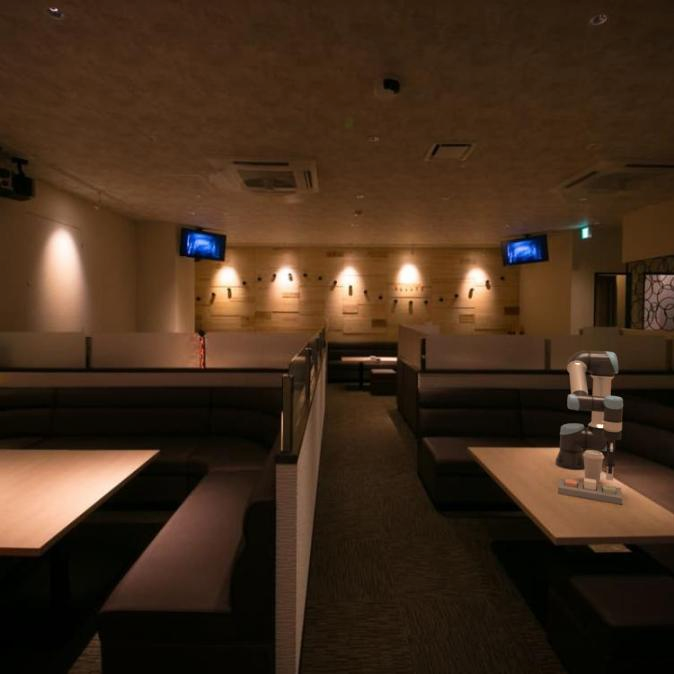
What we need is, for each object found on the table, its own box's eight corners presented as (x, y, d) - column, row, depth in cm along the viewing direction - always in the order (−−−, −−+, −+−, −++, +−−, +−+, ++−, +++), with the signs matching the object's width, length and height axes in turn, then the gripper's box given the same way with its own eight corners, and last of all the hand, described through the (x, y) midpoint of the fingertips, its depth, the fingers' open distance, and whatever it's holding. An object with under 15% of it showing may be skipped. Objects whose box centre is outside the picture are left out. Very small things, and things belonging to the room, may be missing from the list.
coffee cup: (605, 485, 241) (607, 455, 240) (584, 483, 243) (586, 454, 242) (599, 478, 250) (600, 450, 249) (579, 477, 252) (580, 449, 251)
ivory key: (584, 485, 232) (584, 477, 232) (595, 486, 230) (596, 479, 230) (583, 488, 228) (584, 481, 228) (595, 490, 226) (596, 483, 225)
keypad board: (560, 484, 241) (560, 478, 241) (620, 494, 229) (620, 488, 229) (558, 493, 229) (558, 487, 229) (621, 504, 217) (622, 498, 217)
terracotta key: (565, 485, 236) (565, 478, 236) (576, 487, 234) (577, 480, 234) (564, 489, 232) (565, 482, 232) (576, 491, 229) (576, 483, 229)
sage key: (602, 492, 229) (603, 484, 228) (614, 494, 226) (615, 486, 226) (602, 495, 224) (603, 488, 224) (615, 497, 222) (615, 490, 222)
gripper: (602, 425, 231) (600, 473, 233) (602, 432, 219) (600, 482, 221) (620, 427, 227) (618, 476, 229) (622, 434, 216) (619, 485, 218)
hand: (609, 479), depth 225 cm, fingers closed
